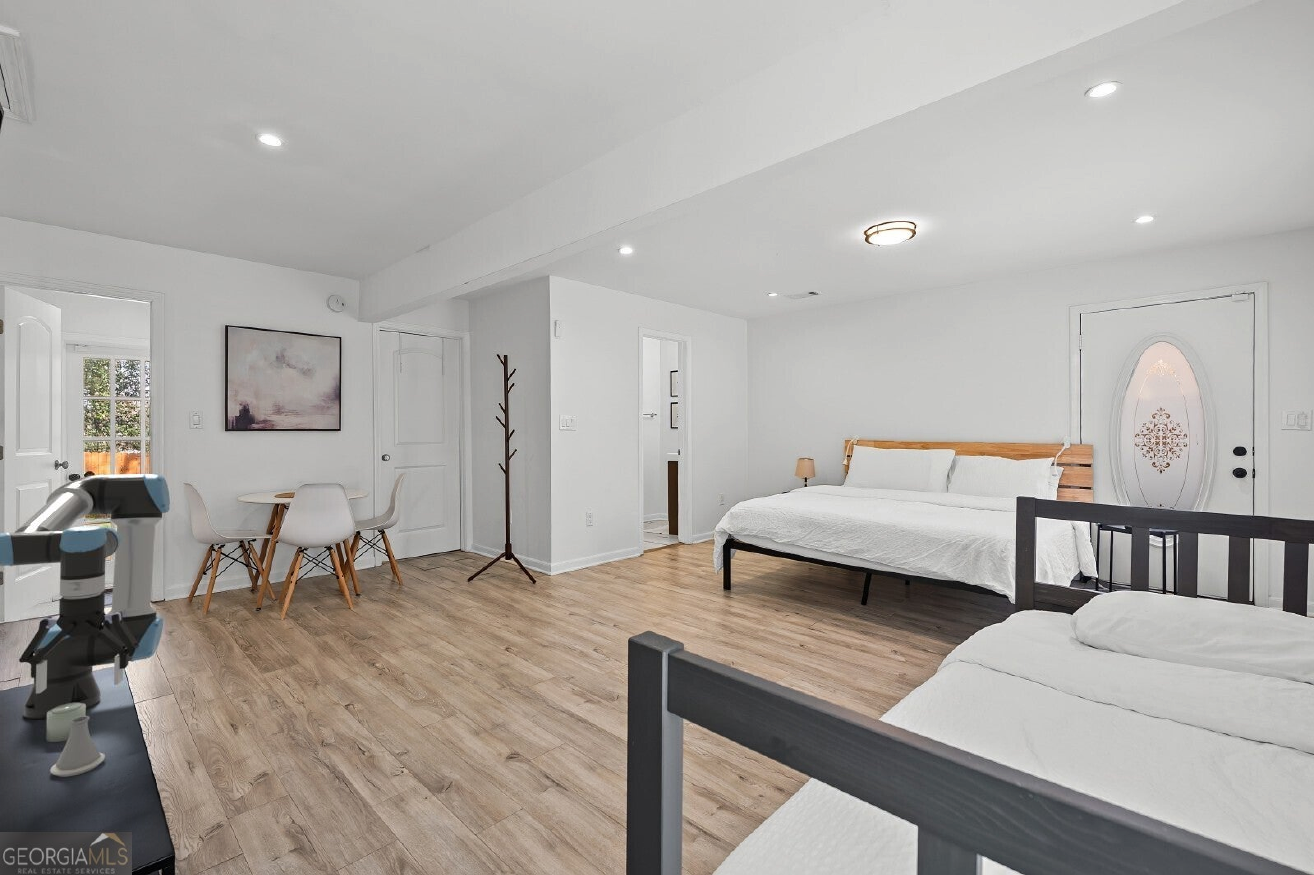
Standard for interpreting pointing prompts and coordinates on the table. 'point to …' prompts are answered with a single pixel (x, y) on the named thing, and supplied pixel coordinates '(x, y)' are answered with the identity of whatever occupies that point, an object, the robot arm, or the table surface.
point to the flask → (78, 746)
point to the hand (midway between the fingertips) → (80, 686)
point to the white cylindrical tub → (62, 720)
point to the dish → (76, 771)
